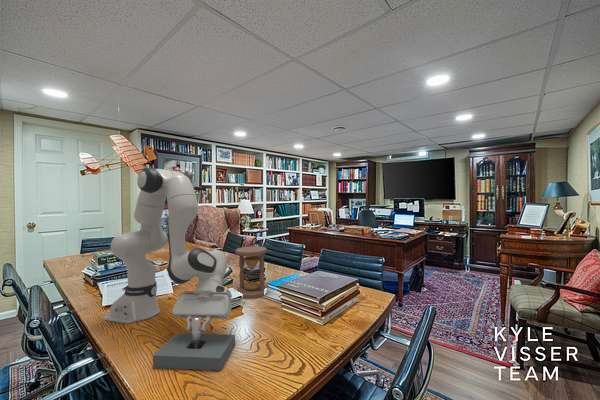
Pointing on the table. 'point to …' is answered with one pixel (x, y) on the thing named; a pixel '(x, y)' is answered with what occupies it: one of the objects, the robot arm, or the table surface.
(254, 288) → the hourglass
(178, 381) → the table surface
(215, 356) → the hole block
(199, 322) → the peg
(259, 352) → the table surface
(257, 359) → the table surface
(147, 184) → the robot arm
